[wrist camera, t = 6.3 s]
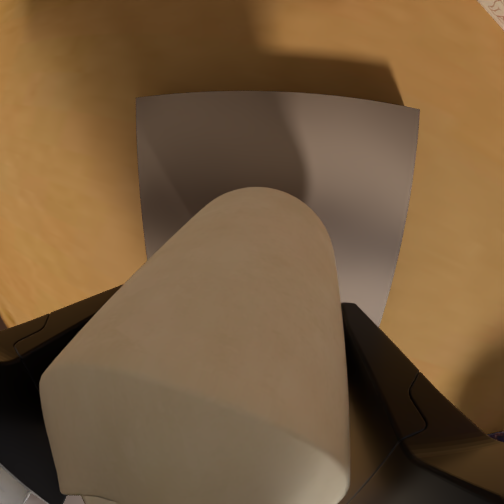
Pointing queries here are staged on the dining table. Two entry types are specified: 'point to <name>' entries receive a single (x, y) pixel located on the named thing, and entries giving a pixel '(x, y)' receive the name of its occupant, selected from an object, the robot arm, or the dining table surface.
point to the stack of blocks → (494, 10)
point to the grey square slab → (286, 170)
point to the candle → (211, 369)
